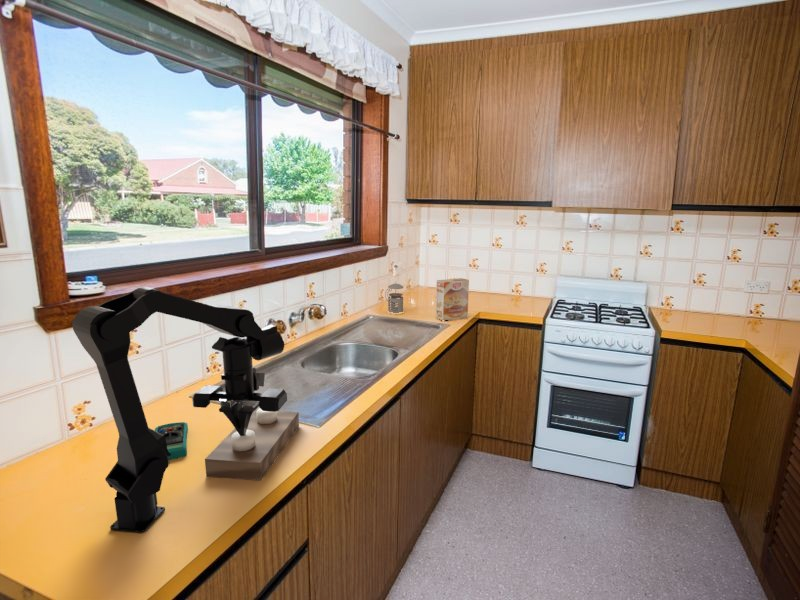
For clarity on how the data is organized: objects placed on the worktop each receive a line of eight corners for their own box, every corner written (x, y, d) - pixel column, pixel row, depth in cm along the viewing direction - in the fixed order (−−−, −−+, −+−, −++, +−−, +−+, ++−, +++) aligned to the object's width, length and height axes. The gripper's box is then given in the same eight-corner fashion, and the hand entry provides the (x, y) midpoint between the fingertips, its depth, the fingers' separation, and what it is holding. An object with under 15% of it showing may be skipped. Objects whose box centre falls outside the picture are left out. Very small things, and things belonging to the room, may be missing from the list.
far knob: (273, 440, 113) (272, 414, 112) (254, 439, 114) (253, 413, 112) (281, 430, 118) (279, 406, 116) (262, 429, 118) (261, 405, 117)
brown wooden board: (261, 480, 97) (260, 462, 96) (206, 476, 98) (204, 458, 98) (299, 426, 120) (298, 412, 120) (254, 423, 122) (253, 409, 121)
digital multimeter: (188, 429, 119) (187, 419, 119) (187, 458, 106) (186, 446, 105) (156, 435, 117) (154, 424, 116) (150, 465, 103) (149, 453, 103)
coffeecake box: (443, 321, 227) (444, 282, 223) (435, 318, 233) (435, 279, 229) (468, 318, 234) (469, 279, 230) (459, 315, 240) (460, 277, 236)
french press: (396, 315, 239) (396, 266, 234) (380, 312, 247) (379, 264, 242) (408, 312, 246) (409, 265, 241) (392, 309, 254) (392, 263, 249)
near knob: (250, 469, 100) (249, 441, 99) (229, 467, 101) (227, 439, 100) (260, 457, 105) (258, 430, 104) (239, 456, 106) (237, 429, 104)
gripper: (294, 355, 105) (297, 420, 108) (215, 352, 107) (220, 416, 110) (275, 373, 94) (279, 444, 98) (188, 369, 96) (194, 439, 100)
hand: (242, 434), depth 102 cm, fingers closed, pressing on near knob
